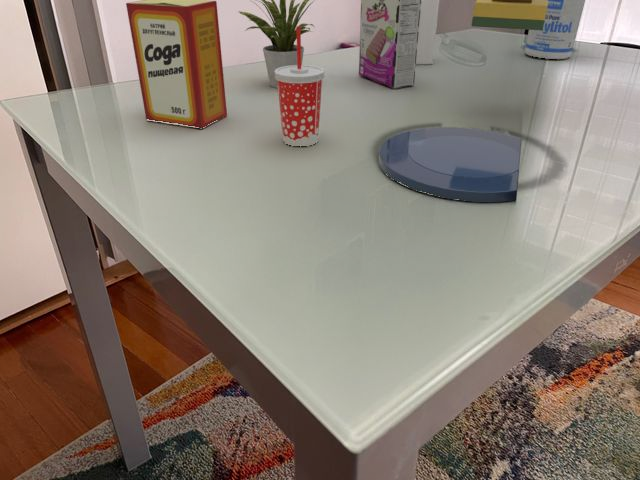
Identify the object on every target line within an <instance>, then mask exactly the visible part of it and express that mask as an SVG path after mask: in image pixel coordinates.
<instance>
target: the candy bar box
mask: <svg viewBox="0 0 640 480" xmlns="http://www.w3.org/2000/svg"><path fill="white" fill-rule="evenodd" d="M420 9H421V0H360V21H359V22H360V23H359V25H360V31H359V58H358V59H359V60H358V61H359V62H358V76H359V77H362V78H365V79H367V80H369V81H371V82H375V83H377V84H380V85H382V86H386V87H388V88H390V89H393V90H396V89H397V90H398V89H403V88H408V87H412V86H415V78H416V67H417V65H416V56H417V45H418V34H419V21H420Z"/></svg>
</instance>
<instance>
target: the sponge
mask: <svg viewBox="0 0 640 480" xmlns="http://www.w3.org/2000/svg"><path fill="white" fill-rule="evenodd" d="M547 7H548V0H475V2H474V5H473V11H472V12H473V13H472V21H471V27H477V28H493V29H494V28H495V29H508V30H509V29H510V30H511V29H512V30H526V31H527V30H528V31H529V30H543V26H544V21H545V16H546V11H547Z"/></svg>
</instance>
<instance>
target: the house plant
mask: <svg viewBox="0 0 640 480" xmlns="http://www.w3.org/2000/svg"><path fill="white" fill-rule="evenodd" d="M249 1H250V2H252V3H253V4H255V5H256V6H257V7H258V8H259V9H260V10H261V11H262V12H263V13H265V11H264V10H263V9H262V8H261V7H260V6H259V5H258V4H257V3H255V2H256V1H257V2H259V3H260V4H262V5H263V7H264V8H265V9H266V11H267V14H268V15H269V17H270V18H269V17H268V15H267V14H265V16H266V17H267V18H268V20H269V21H270V23H271V24H272V26H271V24H270V23H268V22H267V20H265V19H263V18H261V17H260V16H258V15H256V14H253V13H250V12H246V11H237V13H239V14H240V15H243V16H246V18H247V19H248V20H249V21H251V22H253V23H254V24H255V26H254V25H252V26H249V27H247V28H246V29H245V30H244V32H246V31H249V30H253V29H260V31H261V32H262V33H263V34H264V35H265V36H266V37H267V38H268V39H269V40H270V43H271V44H270V45H266V46H264V47H263V48H262V52H263V56H264V61H265V67H266V71H267V76H268V80H269V85H270V87H272V88H274V89H278V85H277V80H276V79H275V74H274V71H275V70H276V69H277V68H280V67H284V66H291V65H297V44H295V42H296V41H297V29H296V27H297V26H300V28H301V35H303V34H305V33H309V32H311V33H313V31H311V28H310V27H307V26H311V27H313V28H315V25H314V24H313V23H300V24H299V22H300V20H301V18H302V17H303V15H304V14H305V13H306V11H307V10H308V8H309V7H310V6H311V5H312V4H313V3H314V2H315V1H316V0H313V1H311V2H310V3H309V1H310V0H303V1H302V3H301V2H299V3H297V4H295V2H296V0H290V2H289V7H288V15H287V0H279V5H278V6H279V7H278V6H277V4H276V2H275V0H270V1H269V0H254V1H255V2H254V1H253V0H249ZM300 3H301V4H300ZM308 3H309V4H308ZM294 4H295V5H294ZM307 4H308V5H307ZM306 5H307V6H306ZM305 7H306V8H305ZM304 8H305V9H304ZM303 10H304V11H303ZM298 24H299V25H298ZM304 53H305V47H304V46H302V45H301V65H303V59H304Z"/></svg>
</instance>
